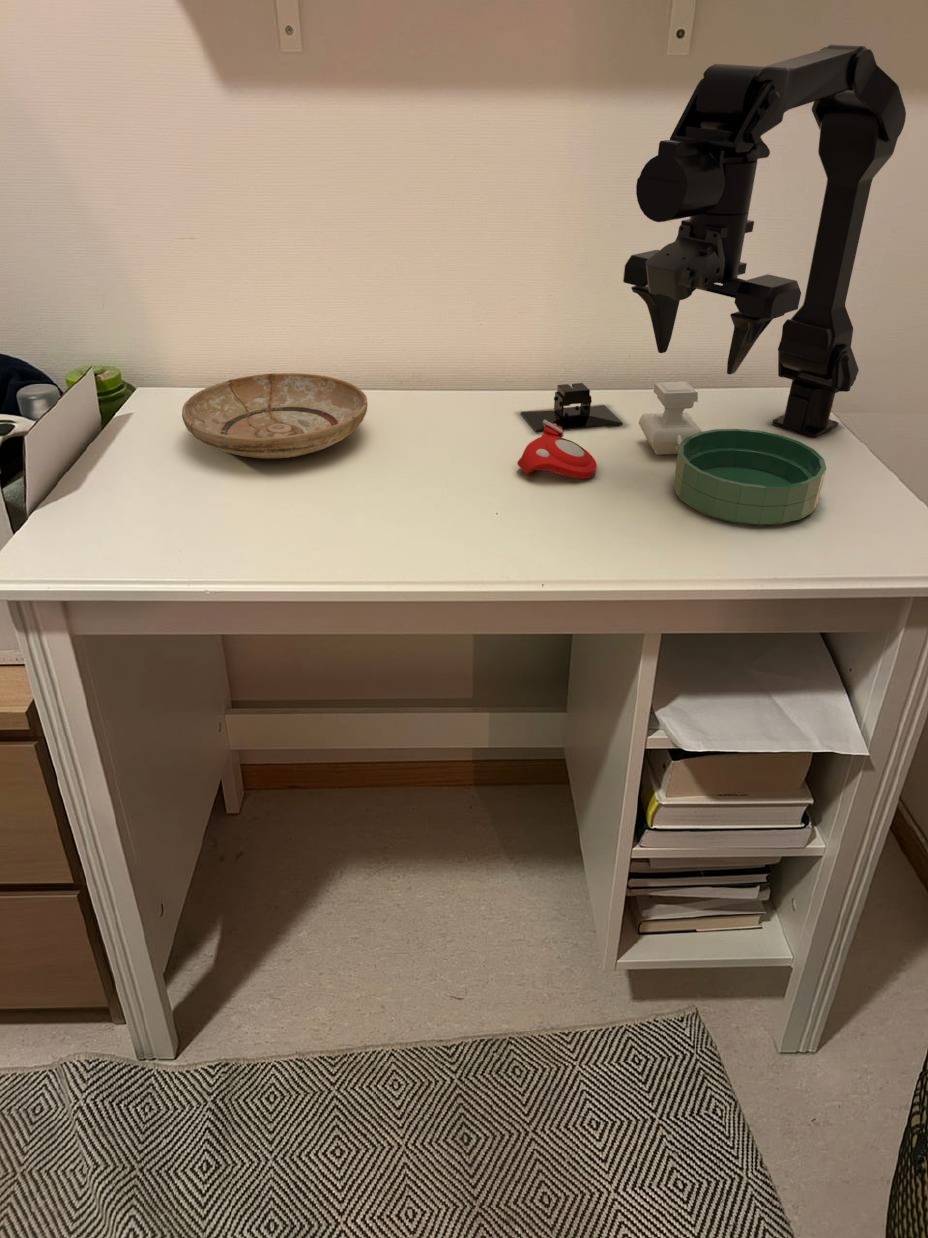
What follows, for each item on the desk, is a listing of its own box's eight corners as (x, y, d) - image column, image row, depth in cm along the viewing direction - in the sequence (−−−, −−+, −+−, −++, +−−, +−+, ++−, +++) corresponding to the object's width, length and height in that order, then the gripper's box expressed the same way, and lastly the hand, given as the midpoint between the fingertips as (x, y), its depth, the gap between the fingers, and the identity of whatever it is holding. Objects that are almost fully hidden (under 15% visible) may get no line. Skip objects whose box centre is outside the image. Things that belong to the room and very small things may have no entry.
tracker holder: (615, 465, 110) (554, 465, 105) (600, 495, 113) (539, 496, 107) (560, 411, 117) (499, 408, 111) (547, 441, 120) (486, 439, 114)
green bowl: (725, 455, 116) (732, 418, 113) (842, 499, 106) (853, 459, 103) (644, 492, 107) (649, 452, 104) (764, 544, 97) (773, 501, 94)
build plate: (603, 407, 130) (607, 375, 127) (623, 427, 124) (628, 393, 121) (520, 413, 127) (522, 381, 125) (536, 433, 121) (539, 400, 119)
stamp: (704, 463, 114) (715, 397, 109) (652, 465, 113) (661, 399, 109) (681, 435, 122) (691, 372, 117) (633, 436, 121) (641, 374, 116)
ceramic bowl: (347, 397, 131) (345, 363, 128) (388, 463, 113) (387, 425, 110) (180, 414, 125) (174, 379, 122) (195, 487, 107) (188, 447, 104)
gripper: (596, 205, 93) (583, 356, 102) (753, 235, 82) (723, 403, 91) (664, 193, 100) (646, 337, 108) (819, 220, 88) (785, 378, 97)
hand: (695, 362), depth 101 cm, fingers open, 9 cm apart
